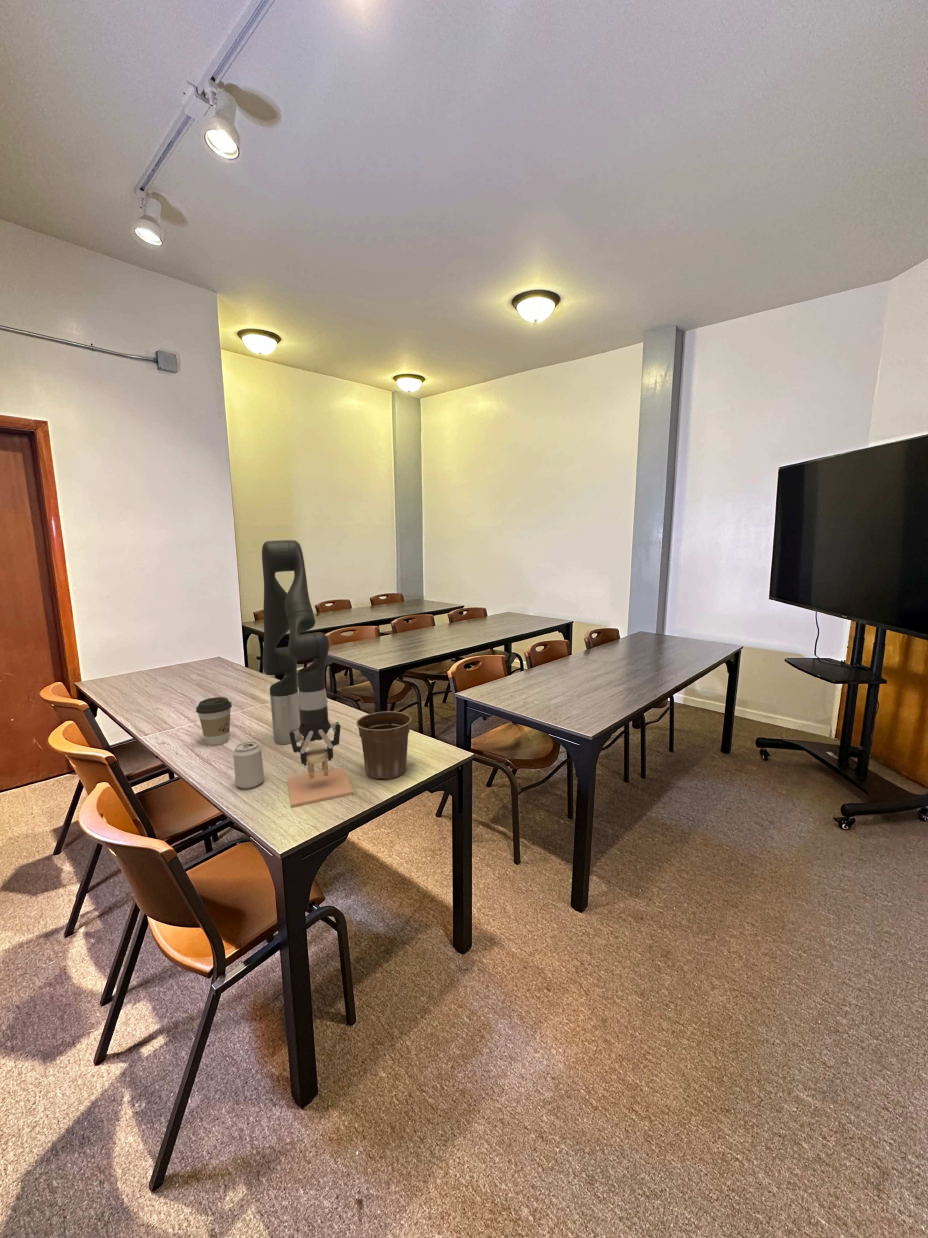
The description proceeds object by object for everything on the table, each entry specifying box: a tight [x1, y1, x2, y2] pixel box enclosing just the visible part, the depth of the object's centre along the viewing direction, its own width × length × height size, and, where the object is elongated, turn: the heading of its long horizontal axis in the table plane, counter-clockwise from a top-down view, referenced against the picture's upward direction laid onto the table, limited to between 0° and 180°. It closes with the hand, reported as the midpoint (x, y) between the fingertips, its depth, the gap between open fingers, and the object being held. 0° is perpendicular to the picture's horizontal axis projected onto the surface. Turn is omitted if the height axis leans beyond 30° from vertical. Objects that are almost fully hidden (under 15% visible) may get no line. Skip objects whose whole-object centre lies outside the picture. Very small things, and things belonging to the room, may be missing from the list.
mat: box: [287, 767, 354, 808], centre depth 137 cm, size 16×16×1 cm
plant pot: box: [356, 710, 413, 780], centre depth 146 cm, size 16×16×16 cm
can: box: [232, 740, 265, 790], centre depth 140 cm, size 8×8×12 cm
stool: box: [306, 747, 329, 779], centre depth 136 cm, size 6×6×6 cm
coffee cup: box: [195, 696, 233, 747], centre depth 171 cm, size 11×11×15 cm
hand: (317, 762), depth 136 cm, fingers closed on stool, 6 cm apart
